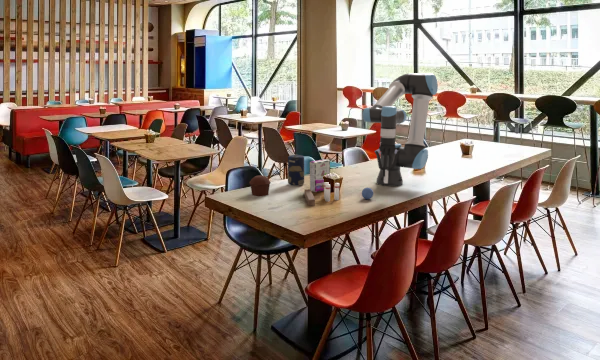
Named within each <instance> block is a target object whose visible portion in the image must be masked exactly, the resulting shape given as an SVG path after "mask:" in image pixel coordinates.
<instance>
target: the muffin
mask: <svg viewBox="0 0 600 360" xmlns="http://www.w3.org/2000/svg"><path fill="white" fill-rule="evenodd" d="M270 184H272V183H271V181H270V180H269V178H268V177H267V176H265V175H261V174H260V175H256V176H254V177H252V178H251V179H250V180H249V185H250V189H251V196H254V197H266V196H269V192H270V186H271V185H270Z"/></svg>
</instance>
